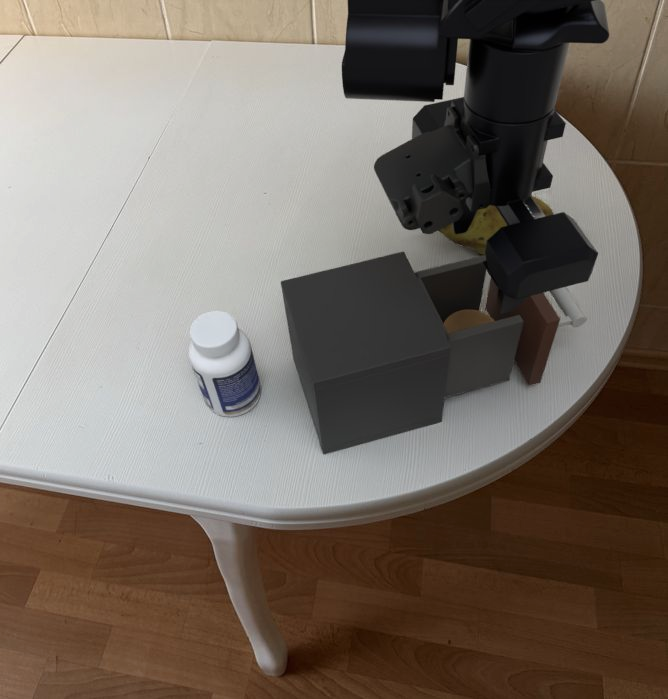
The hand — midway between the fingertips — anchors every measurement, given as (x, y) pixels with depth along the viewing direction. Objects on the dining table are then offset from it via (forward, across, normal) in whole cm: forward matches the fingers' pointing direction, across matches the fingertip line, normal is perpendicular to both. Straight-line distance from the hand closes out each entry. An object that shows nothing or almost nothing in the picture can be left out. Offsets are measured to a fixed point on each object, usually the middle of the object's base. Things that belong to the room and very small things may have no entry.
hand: (481, 269), depth 57 cm
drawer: (+11, 0, +2) cm, 12 cm away
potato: (+13, -14, +8) cm, 21 cm away
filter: (+10, 0, 0) cm, 10 cm away
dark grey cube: (+12, 0, -10) cm, 16 cm away
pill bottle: (+13, -3, -22) cm, 26 cm away
